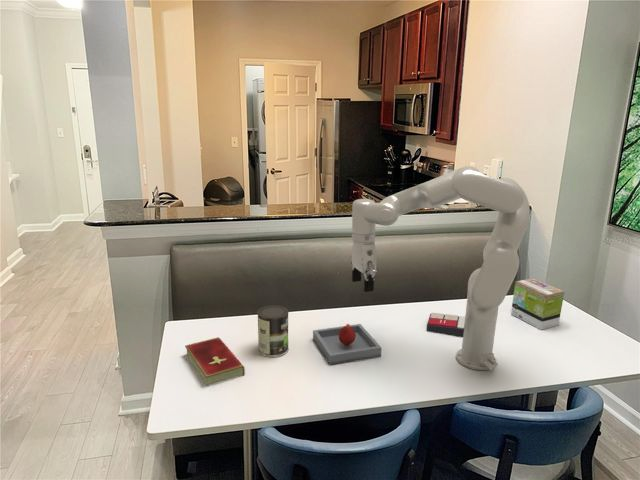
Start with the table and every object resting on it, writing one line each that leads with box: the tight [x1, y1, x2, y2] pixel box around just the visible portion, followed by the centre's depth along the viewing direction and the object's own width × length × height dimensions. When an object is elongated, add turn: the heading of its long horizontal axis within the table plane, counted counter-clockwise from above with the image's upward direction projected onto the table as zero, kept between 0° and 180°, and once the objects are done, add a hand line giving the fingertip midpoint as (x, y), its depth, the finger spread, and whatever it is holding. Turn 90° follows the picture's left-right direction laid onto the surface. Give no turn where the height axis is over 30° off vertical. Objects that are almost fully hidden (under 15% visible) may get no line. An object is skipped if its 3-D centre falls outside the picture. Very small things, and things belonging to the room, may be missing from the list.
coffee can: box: [256, 305, 289, 358], centre depth 156 cm, size 10×10×14 cm
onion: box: [338, 323, 356, 346], centre depth 158 cm, size 6×6×8 cm
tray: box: [312, 323, 382, 366], centre depth 159 cm, size 18×18×4 cm
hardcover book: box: [184, 336, 246, 387], centre depth 148 cm, size 12×21×4 cm, turn 32°
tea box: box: [510, 277, 565, 331], centre depth 181 cm, size 15×10×15 cm, turn 25°
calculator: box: [426, 312, 465, 338], centre depth 175 cm, size 11×4×15 cm
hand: (362, 286), depth 157 cm, fingers open, 9 cm apart
